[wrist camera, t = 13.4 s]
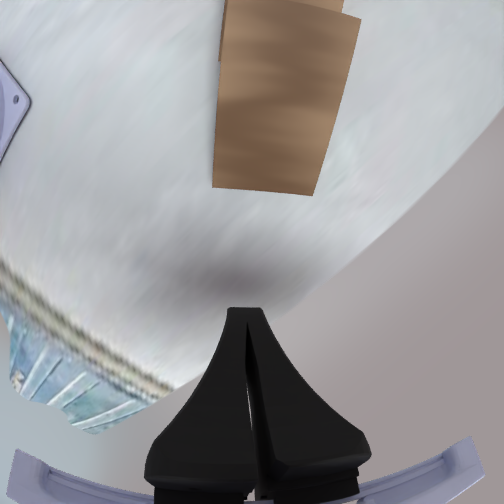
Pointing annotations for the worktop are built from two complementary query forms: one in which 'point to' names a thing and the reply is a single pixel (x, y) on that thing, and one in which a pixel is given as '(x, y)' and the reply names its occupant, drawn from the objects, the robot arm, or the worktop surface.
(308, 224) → the worktop surface
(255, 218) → the worktop surface
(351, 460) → the robot arm
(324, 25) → the domino
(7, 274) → the worktop surface
